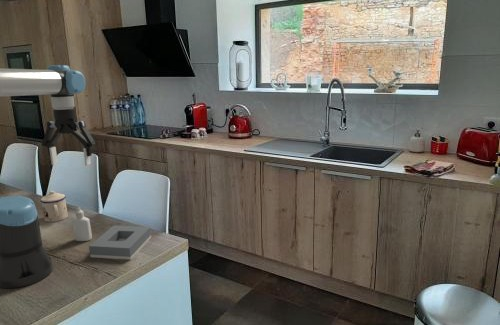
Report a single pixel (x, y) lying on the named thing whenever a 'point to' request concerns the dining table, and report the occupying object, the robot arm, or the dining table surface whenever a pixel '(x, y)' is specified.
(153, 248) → the dining table surface
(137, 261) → the dining table surface
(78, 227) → the eye dropper bottle
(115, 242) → the hole block
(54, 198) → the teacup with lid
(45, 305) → the dining table surface
